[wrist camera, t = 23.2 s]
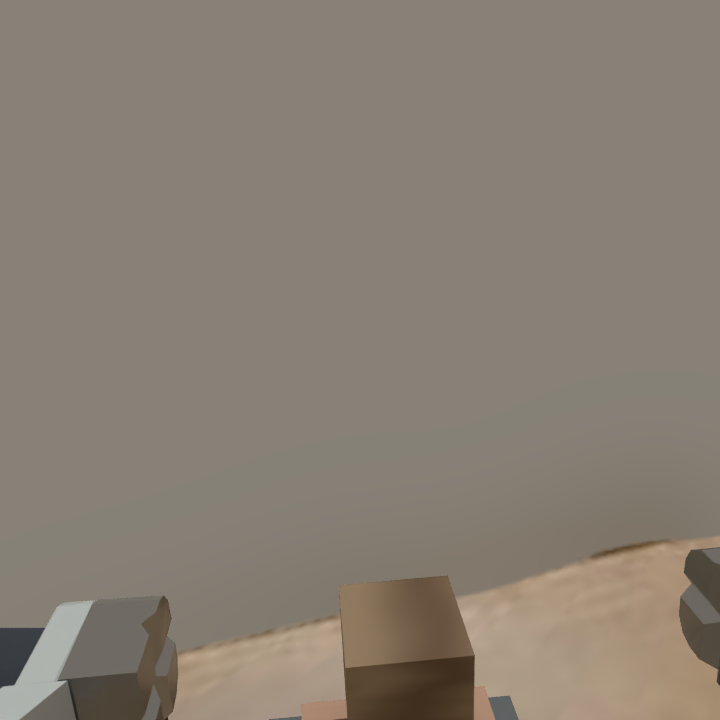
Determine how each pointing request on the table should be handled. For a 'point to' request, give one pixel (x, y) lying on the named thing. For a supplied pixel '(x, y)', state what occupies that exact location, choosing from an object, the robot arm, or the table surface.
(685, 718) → the table surface
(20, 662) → the small box
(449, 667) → the walnut block
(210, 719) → the table surface
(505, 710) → the dock
